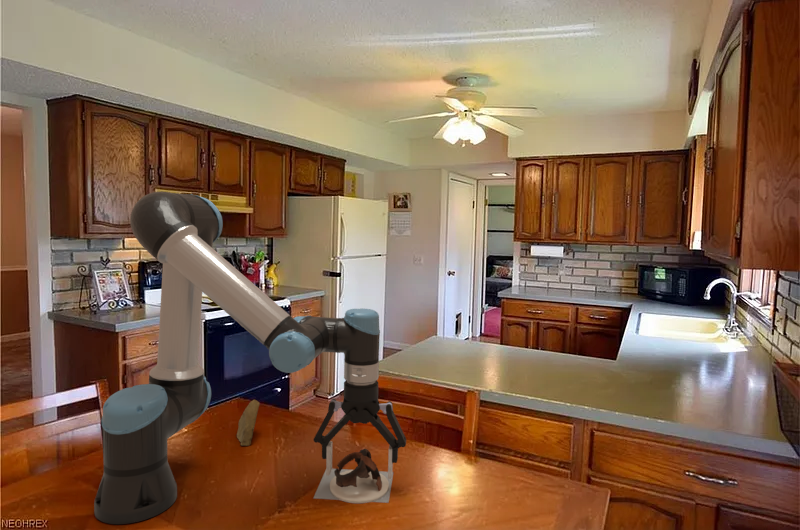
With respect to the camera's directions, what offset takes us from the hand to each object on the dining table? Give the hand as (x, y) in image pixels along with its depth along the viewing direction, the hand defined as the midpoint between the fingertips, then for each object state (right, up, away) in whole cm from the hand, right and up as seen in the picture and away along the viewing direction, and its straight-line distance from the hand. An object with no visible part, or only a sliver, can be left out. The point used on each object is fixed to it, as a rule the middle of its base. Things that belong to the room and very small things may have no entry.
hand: (359, 474), depth 109 cm
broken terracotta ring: (0, -2, 0) cm, 2 cm away
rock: (-33, -1, +25) cm, 42 cm away
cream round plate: (0, -3, 0) cm, 3 cm away
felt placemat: (-1, -4, +1) cm, 4 cm away
